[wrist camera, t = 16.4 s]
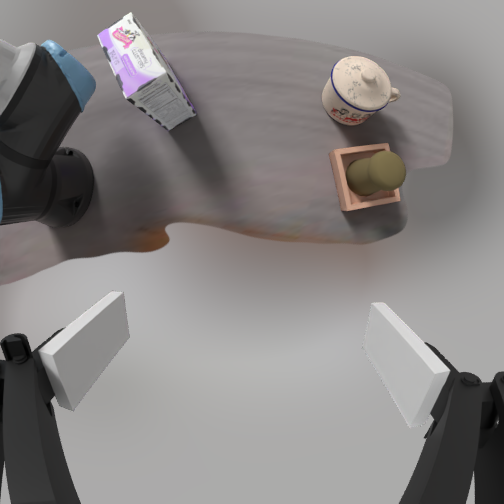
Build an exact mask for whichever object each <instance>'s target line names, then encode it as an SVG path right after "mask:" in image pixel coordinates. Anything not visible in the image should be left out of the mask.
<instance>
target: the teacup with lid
mask: <svg viewBox="0 0 504 504" xmlns="http://www.w3.org/2000/svg"><path fill="white" fill-rule="evenodd" d="M399 98H400V92H399V90H397V89H395V88H392V87H391V83H390V80H389V78H388V76H387V74H386V73H385V72H384V70H383V69H382V68H381V67H380V66H379V65H377V64H376V63H375V62H373V61H371V60H369V59H367V58H364V57H359V56H350V57H346V58H343V59H341V60H339V61H338V62H337V63H336V64H335V65H334V67H333V69H332V72H331V76H330V78H329V80H328V82H327V84H326V86H325V88H324V90H323V93H322V103H323V106H324V108H325V110H326V111H327V113H328V114H329V115H330V116H331V117H332V118H333V119H334V120H336V121H338V122H340V123H342V124H345V125H357V124H360V123H362V122H364V121H365V120H366V119H368V118H369V117H370V116H371V115H373V114H374V113H375V112H376V111H378V110H381V109H383V108H384V107H385V106H386V105H387V104H388V103H390V102H394V101H396V100H398V99H399Z"/></svg>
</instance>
